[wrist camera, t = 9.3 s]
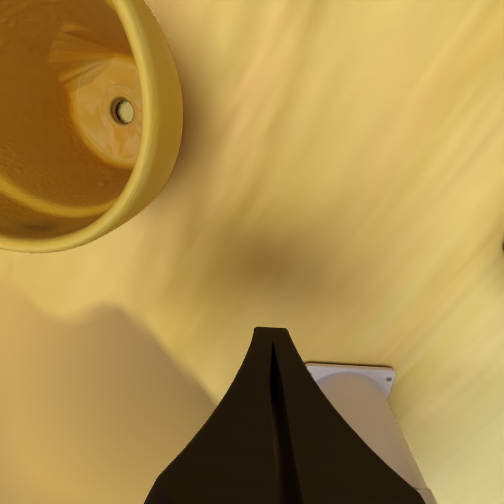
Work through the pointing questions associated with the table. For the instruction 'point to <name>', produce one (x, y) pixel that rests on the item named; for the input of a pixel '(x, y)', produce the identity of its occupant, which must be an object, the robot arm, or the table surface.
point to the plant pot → (82, 119)
